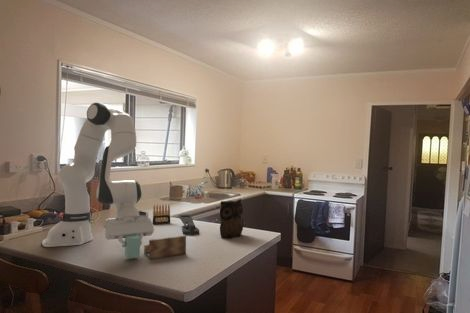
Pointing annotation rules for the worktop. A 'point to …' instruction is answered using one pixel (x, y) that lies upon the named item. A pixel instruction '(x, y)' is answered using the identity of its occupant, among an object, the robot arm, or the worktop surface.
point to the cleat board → (165, 247)
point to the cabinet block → (132, 246)
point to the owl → (231, 219)
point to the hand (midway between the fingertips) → (132, 245)
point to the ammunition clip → (157, 215)
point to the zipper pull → (188, 225)
